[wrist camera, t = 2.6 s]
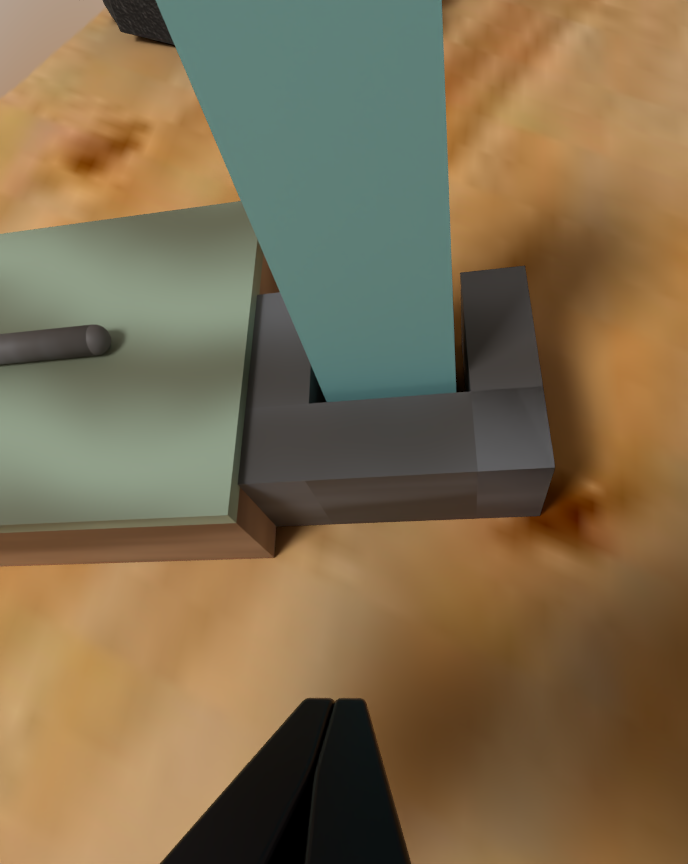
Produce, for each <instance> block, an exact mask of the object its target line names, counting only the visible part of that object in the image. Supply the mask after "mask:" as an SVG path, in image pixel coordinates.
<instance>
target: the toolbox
mask: <svg viewBox="0 0 688 864" xmlns="http://www.w3.org/2000/svg"><path fill="white" fill-rule="evenodd" d="M460 277H461V330H462V353H463V365H464V377H465V389H466V392H456V393H443V394H430V395H417V396H403V397H390V398H377V399H364V400H350V401H337V402H327V401H326V399H325V397H324V394H323V392H322V390H321V387H320V385H319V383H318V380H317V378H316V376H315V373H314V371H313V369H312V366H311V364H310V362H309V359H308V357H307V354H306V352H305V350H304V347H303V345H302V343H301V340H300V338H299V336H298V333H297V331H296V329H295V326H294V324H293V322H292V319H291V317H290V315H289V312H288V310H287V308H286V305H285V303H284V300H283V298H282V296H281V293H280V291H279V289H278V286H277V284H276V282H275V279H274V277H273V275H272V272H271V270H270V268H269V265H268V263H267V261H266V258H265V256H264V254H263V251H262V249H261V246H260V244H259V242H258V239H257V237H256V235H255V232H254V230H253V228H252V225H251V223H250V221H249V218H248V216H247V214H246V211H245V209H244V207H243V204H242V202H241V201H238V202H231V203H224V204H217V205H209V206H202V207H195V208H187V209H180V210H173V211H165V212H158V213H151V214H143V215H136V216H129V217H121V218H114V219H107V220H100V221H92V222H85V223H78V224H70V225H63V226H56V227H48V228H41V229H34V230H26V231H19V232H12V233H4V234H0V566H26V565H58V564H91V563H123V562H155V561H187V560H219V559H251V558H274V553H275V538H276V526H301V525H325V524H350V523H375V522H400V521H425V520H450V519H474V518H499V517H524V516H540V513H541V510H542V507H543V504H544V501H545V498H546V494H547V491H548V488H549V485H550V482H551V479H552V476H553V473H554V469H555V463H554V457H553V450H552V443H551V437H550V430H549V423H548V416H547V410H546V403H545V396H544V390H543V383H542V376H541V370H540V363H539V356H538V350H537V343H536V336H535V330H534V323H533V316H532V310H531V303H530V296H529V290H528V283H527V276H526V270H525V266H518V267H509V268H500V269H490V270H481V271H472V272H463V273H460Z"/></svg>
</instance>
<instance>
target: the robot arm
mask: <svg viewBox="0 0 688 864" xmlns="http://www.w3.org/2000/svg"><path fill="white" fill-rule="evenodd" d="M160 864H411V861H410V857H409V854H408V850H407V847H406V843H405V840H404V836H403V832H402V829H401V825H400V822H399V818H398V815H397V811H396V807H395V804H394V800H393V797H392V793H391V790H390V786H389V783H388V779H387V775H386V772H385V768H384V765H383V761H382V758H381V754H380V750H379V747H378V743H377V740H376V736H375V733H374V729H373V725H372V722H371V718H370V715H369V711H368V708H367V704H366V702H365V700H364V699H361V698H339V699H337V700H336V701H334V700H333V699H331V698H307V699H305V700H304V701H303V702H302V703H301V704H300V705H299V706H298V707H297V708H296V709H295V710H294V712H293V713H292V714H291V715H290V716H289V717H288V718H287V720H286V721H285V722H284V723H283V724H282V725H281V726H280V728H279V729H278V730H277V731H276V732H275V733H274V734H273V736H272V737H271V738H270V739H269V740H268V741H267V742H266V743H265V745H264V746H263V747H262V748H261V749H260V750H259V751H258V753H257V754H256V755H255V756H254V757H253V758H252V759H251V761H250V762H249V763H248V764H247V765H246V766H245V767H244V769H243V770H242V771H241V772H240V773H239V774H238V775H237V776H236V778H235V779H234V780H233V781H232V782H231V783H230V784H229V786H228V787H227V788H226V789H225V790H224V791H223V792H222V794H221V795H220V796H219V797H218V798H217V799H216V800H215V802H214V803H213V804H212V805H211V806H210V807H209V808H208V809H207V811H206V812H205V813H204V814H203V815H202V816H201V817H200V819H199V820H198V821H197V822H196V823H195V824H194V825H193V827H192V828H191V829H190V830H189V831H188V832H187V833H186V835H185V836H184V837H183V838H182V839H181V840H180V841H179V842H178V844H177V845H176V846H175V847H174V848H173V849H172V850H171V852H170V853H169V854H168V855H167V856H166V857H165V858H164V860H163V861H162V862H161V863H160Z"/></svg>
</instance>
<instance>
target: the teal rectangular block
mask: <svg viewBox="0 0 688 864" xmlns="http://www.w3.org/2000/svg"><path fill="white" fill-rule="evenodd" d="M156 2H157V5H158V7H159V9H160V12H161V14H162V16H163V19H164V21H165V24H166V26H167V28H168V31H169V33H170V35H171V38H172V40H173V42H174V45H175V47H176V49H177V52H178V54H179V56H180V59H181V61H182V63H183V66H184V68H185V70H186V73H187V75H188V77H189V80H190V82H191V85H192V87H193V89H194V92H195V94H196V96H197V99H198V101H199V103H200V106H201V108H202V110H203V113H204V115H205V117H206V120H207V122H208V124H209V127H210V129H211V131H212V134H213V136H214V139H215V141H216V143H217V146H218V148H219V150H220V153H221V155H222V157H223V160H224V162H225V164H226V167H227V169H228V171H229V174H230V176H231V178H232V181H233V183H234V185H235V188H236V190H237V193H238V195H239V197H240V200H241V202H242V204H243V207H244V209H245V211H246V214H247V216H248V218H249V221H250V223H251V225H252V228H253V230H254V232H255V235H256V237H257V239H258V242H259V244H260V246H261V249H262V251H263V254H264V256H265V258H266V261H267V263H268V265H269V268H270V270H271V272H272V275H273V277H274V279H275V282H276V284H277V286H278V289H279V291H280V293H281V296H282V298H283V300H284V303H285V305H286V308H287V310H288V312H289V315H290V317H291V319H292V322H293V324H294V326H295V329H296V331H297V333H298V336H299V338H300V340H301V343H302V345H303V347H304V350H305V352H306V354H307V357H308V359H309V362H310V364H311V366H312V369H313V371H314V373H315V376H316V378H317V380H318V383H319V385H320V387H321V390H322V392H323V394H324V397H325V399H326V401H327V402H337V401H350V400H364V399H377V398H390V397H403V396H417V395H430V394H443V393H456V372H455V345H454V318H453V291H452V264H451V238H450V211H449V184H448V157H447V130H446V104H445V77H444V50H443V23H442V0H156Z"/></svg>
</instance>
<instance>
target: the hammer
mask: <svg viewBox="0 0 688 864" xmlns="http://www.w3.org/2000/svg"><path fill="white" fill-rule="evenodd" d="M103 2H104V4H105V6H106V8H107V9H108V11H109V13H110V14H111V16H112V17H113V19H114V20H115V22H116V23H117V25H118V27H119V29H120V31H121V32H124V33H128V34H132V35H136V36H140V37H144V38H148V39H153V40H157V41H161V42H165V43H169V44H173V45H174V42H173V40H172V38H171V35H170V33H169V31H168V28H167V26H166V24H165V21H164V19H163V16H162V14H161V12H160V9H159V7H158V5H157V2H156V0H103Z"/></svg>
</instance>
